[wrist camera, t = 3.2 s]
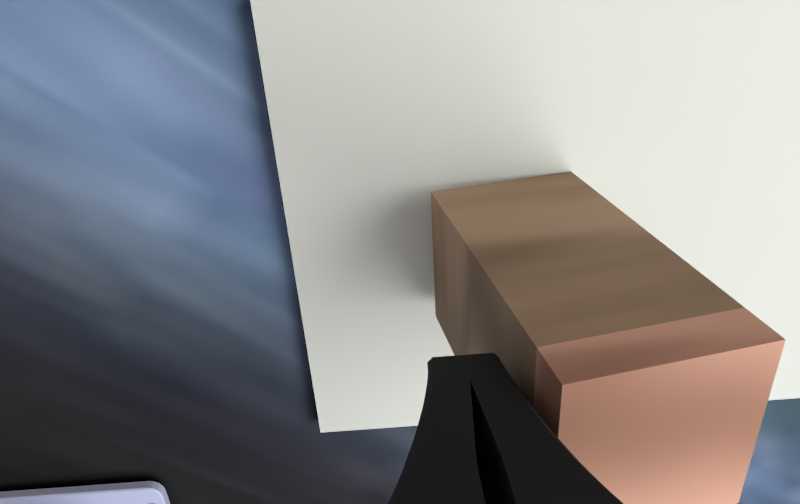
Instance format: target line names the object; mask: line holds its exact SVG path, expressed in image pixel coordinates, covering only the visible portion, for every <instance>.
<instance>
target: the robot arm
mask: <svg viewBox="0 0 800 504" xmlns="http://www.w3.org/2000/svg"><path fill="white" fill-rule="evenodd" d="M427 366H428V379H427V387H426V393H425V398H424V404H423V408H422V412H421V415H420V419H419V423H418V427H417V431H416V434H415V437H414V440H413V443H412V446H411V449H410V452H409V454H408V457H407V460H406V463H405V466H404V469H403V471H402V474H401V476H400V478H399V481H398V483H397V486H396V488H395V490H394V493H393V495H392V497H391V499H390V501H389V503H388V504H624V503H622V502H621V501H620V500H619V499H618V498H617V497H616V496H614V495H613V494H612V493H611V492H610V491H609V490H608V489H607V488H606V487H605V486H604V485H603V484H602V483H601V482H599V481H598V480H597V479H596V478H595V477H594V476H593V475H592V474H591V473H590V472H589V471H588V470H587V469H586V468H585V467H584V466H583V465H582V464H581V463H580V462H579V461H578V459H577V458H576V457H575V456H574V455H573V454H572V453H571V452H570V451H569V450H568V449H567V447H566V446H565V445H564V444H563V443H562V442H561V441H560V440H559V439H558V437H557V436H556V435H555V434H554V433H553V432H552V430H551V429H550V428H549V427H548V426H547V424H546V423H545V422H544V421H543V419H542V418H541V417H540V416H539V414H538V413H537V412H536V411H535V409H534V408H533V407H532V406H531V404H530V403H529V402H528V400H527V399H526V398H525V396H524V395H523V394H522V392H521V391H520V389H519V388H518V387H517V385H516V384H515V382H514V381H513V379H512V378H511V376H510V375H509V373H508V372H507V370H506V369H505V367H504V365H503V364H502V362H501V360H500V359H499V357H498V356H497V355H496V354H494V353H482V354H469V355H455V356H441V357H432V358H431V359H430V360H429V361H428V362H427ZM154 503H155V504H170V501H169V498H168V495H167V493H166V490H165V488H164V487H163V485H161V484H160V483H158V482H155V481H141V482H127V483H113V484H100V485H86V486H72V487H58V488H44V489H30V490H17V491H3V492H0V504H154Z"/></svg>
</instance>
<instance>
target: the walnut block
mask: <svg viewBox="0 0 800 504" xmlns="http://www.w3.org/2000/svg"><path fill="white" fill-rule="evenodd" d="M431 212H432V237H433V263H434V288H435V314H436V318H437V320H438V322H439V324H440V326H441V328H442V330H443V332H444V334H445V336H446V339H447V341H448V343H449V345H450V347H451V349H452V351H453V353H454V355H469V354H482V353H494V354H496V355H497V356H498V357H499V359H500V360H501V362H502V364H503V365H504V367H505V369H506V370H507V372H508V373H509V375H510V376H511V378H512V379H513V381H514V382H515V384H516V385H517V387H518V388H519V389H520V391H521V392H522V394H523V395H524V396H525V398H526V399H527V400H528V402H529V403H530V404H531V406H532V407H533V408H534V409H535V411H536V412H537V413H538V414H539V416H540V417H541V418H542V419H543V421H544V422H545V423H546V424H547V426H548V427H549V428H550V429H551V430H552V432H553V433H554V434H555V435H556V436H557V437H558V439H559V440H560V441H561V442H562V443H563V444H564V445H565V446H566V447H567V449H568V450H569V451H570V452H571V453H572V454H573V455H574V456H575V457H576V458H577V459H578V461H579V462H580V463H581V464H582V465H583V466H584V467H585V468H586V469H587V470H588V471H589V472H590V473H591V474H592V475H593V476H594V477H595V478H596V479H597V480H598V481H599V482H601V483H602V484H603V485H604V486H605V487H606V488H607V489H608V490H609V491H610V492H611V493H612V494H613V495H614V496H616V497H617V498H618V499H619V500H620V501H621V502H622V503H624V504H736V503H738V502H739V499H740V495H741V492H742V488H743V485H744V481H745V478H746V475H747V471H748V468H749V464H750V461H751V457H752V454H753V451H754V447H755V444H756V440H757V437H758V433H759V430H760V426H761V423H762V420H763V416H764V413H765V409H766V406H767V402H768V399H769V395H770V392H771V389H772V385H773V382H774V378H775V375H776V371H777V368H778V364H779V361H780V358H781V354H782V351H783V347H784V344H785V340H786V339H784V338H783V337H782V336H781V335H779V334H778V333H777V332H775V331H774V330H773V329H772V328H770V327H769V326H768V325H766V324H765V323H764V322H763V321H761V320H760V319H759V318H758V317H756V316H755V315H754V314H752V313H751V312H750V311H749V310H747V309H746V308H745V307H743V306H742V305H741V304H740V303H738V302H737V301H736V300H735V299H733V298H732V297H731V296H729V295H728V294H727V293H726V292H724V291H723V290H722V289H720V288H719V287H718V286H717V285H715V284H714V283H713V282H712V281H710V280H709V279H708V278H706V277H705V276H704V275H703V274H701V273H700V272H699V271H698V270H696V269H695V268H694V267H692V266H691V265H690V264H689V263H687V262H686V261H685V260H683V259H682V258H681V257H680V256H678V255H677V254H676V253H675V252H673V251H672V250H671V249H669V248H668V247H667V246H666V245H664V244H663V243H662V242H660V241H659V240H658V239H657V238H655V237H654V236H653V235H652V234H650V233H649V232H648V231H646V230H645V229H644V228H643V227H641V226H640V225H639V224H638V223H636V222H635V221H634V220H632V219H631V218H630V217H629V216H627V215H626V214H625V213H623V212H622V211H621V210H620V209H618V208H617V207H616V206H615V205H613V204H612V203H611V202H609V201H608V200H607V199H606V198H604V197H603V196H602V195H600V194H599V193H598V192H597V191H595V190H594V189H593V188H592V187H590V186H589V185H588V184H586V183H585V182H584V181H583V180H581V179H580V178H579V177H578V176H576V175H575V174H574V173H572V172H571V171H570V172H563V173H556V174H549V175H542V176H535V177H529V178H522V179H515V180H508V181H501V182H494V183H487V184H480V185H474V186H467V187H460V188H453V189H446V190H439V191H432V192H431Z"/></svg>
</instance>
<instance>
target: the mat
mask: <svg viewBox="0 0 800 504" xmlns="http://www.w3.org/2000/svg"><path fill="white" fill-rule="evenodd" d="M250 3H251V9H252V15H253V21H254V27H255V33H256V40H257V46H258V52H259V58H260V64H261V70H262V76H263V83H264V89H265V95H266V101H267V107H268V113H269V119H270V126H271V132H272V138H273V144H274V150H275V156H276V162H277V168H278V175H279V181H280V187H281V193H282V199H283V205H284V211H285V218H286V224H287V230H288V236H289V242H290V248H291V254H292V261H293V267H294V273H295V279H296V285H297V291H298V297H299V303H300V310H301V316H302V322H303V328H304V334H305V340H306V346H307V353H308V359H309V365H310V371H311V377H312V383H313V389H314V395H315V402H316V408H317V414H318V420H319V426H320V432H334V431H348V430H362V429H376V428H390V427H404V426H418V423H419V419H420V415H421V412H422V408H423V404H424V398H425V393H426V387H427V379H428V366H427V362H428V361H429V360H430V359H431V358H432V357H441V356H455V355H454V353H453V351H452V349H451V347H450V345H449V343H448V341H447V339H446V336H445V334H444V332H443V330H442V328H441V326H440V324H439V322H438V320H437V318H436V314H435V288H434V263H433V237H432V212H431V192H432V191H439V190H446V189H453V188H460V187H467V186H474V185H480V184H487V183H494V182H501V181H508V180H515V179H522V178H529V177H535V176H542V175H549V174H556V173H563V172H570V171H571V172H572V173H574V174H575V175H576V176H578V177H579V178H580V179H581V180H583V181H584V182H585V183H586V184H588V185H589V186H590V187H592V188H593V189H594V190H595V191H597V192H598V193H599V194H600V195H602V196H603V197H604V198H606V199H607V200H608V201H609V202H611V203H612V204H613V205H615V206H616V207H617V208H618V209H620V210H621V211H622V212H623V213H625V214H626V215H627V216H629V217H630V218H631V219H632V220H634V221H635V222H636V223H638V224H639V225H640V226H641V227H643V228H644V229H645V230H646V231H648V232H649V233H650V234H652V235H653V236H654V237H655V238H657V239H658V240H659V241H660V242H662V243H663V244H664V245H666V246H667V247H668V248H669V249H671V250H672V251H673V252H675V253H676V254H677V255H678V256H680V257H681V258H682V259H683V260H685V261H686V262H687V263H689V264H690V265H691V266H692V267H694V268H695V269H696V270H698V271H699V272H700V273H701V274H703V275H704V276H705V277H706V278H708V279H709V280H710V281H712V282H713V283H714V284H715V285H717V286H718V287H719V288H720V289H722V290H723V291H724V292H726V293H727V294H728V295H729V296H731V297H732V298H733V299H735V300H736V301H737V302H738V303H740V304H741V305H742V306H743V307H745V308H746V309H747V310H749V311H750V312H751V313H752V314H754V315H755V316H756V317H758V318H759V319H760V320H761V321H763V322H764V323H765V324H766V325H768V326H769V327H770V328H772V329H773V330H774V331H775V332H777V333H778V334H779V335H781V336H782V337H783V338H784V339H786V340H785V344H784V347H783V351H782V354H781V358H780V361H779V364H778V368H777V371H776V375H775V378H774V382H773V385H772V389H771V392H770V395H769V399H768V400H779V399H793V398H800V0H250Z"/></svg>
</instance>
